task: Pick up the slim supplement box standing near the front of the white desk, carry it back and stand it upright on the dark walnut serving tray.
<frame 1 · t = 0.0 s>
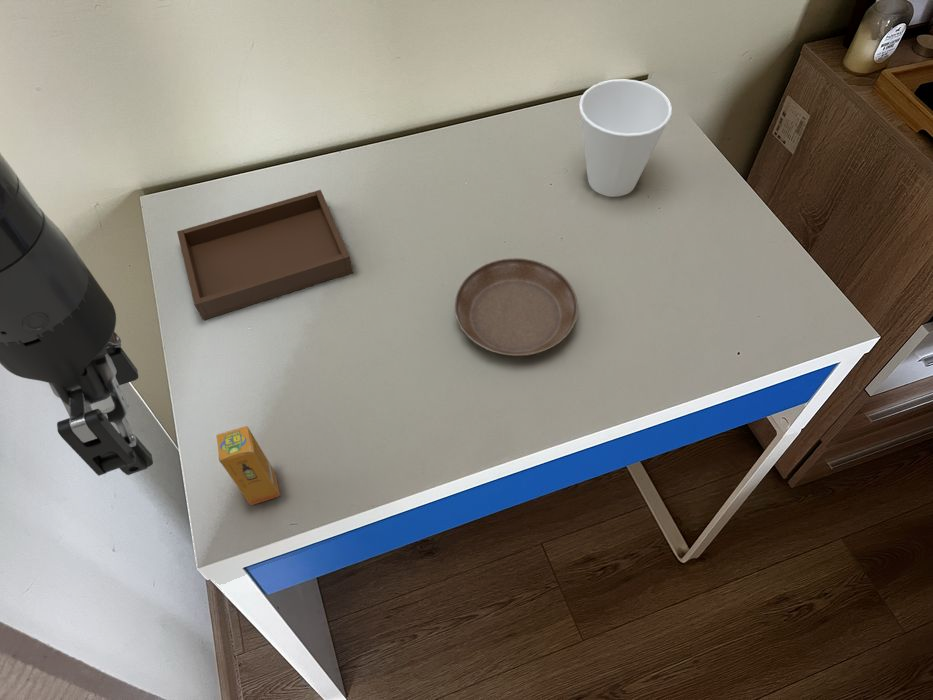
hand: (132, 421, 56), 20 cm above the table, tool pointing down, fingers open, 8 cm apart
saucer: (515, 318, 87), on the table
tray: (267, 259, 93), on the table
cup: (611, 181, 101), on the table
supplement box: (263, 488, 74), on the table
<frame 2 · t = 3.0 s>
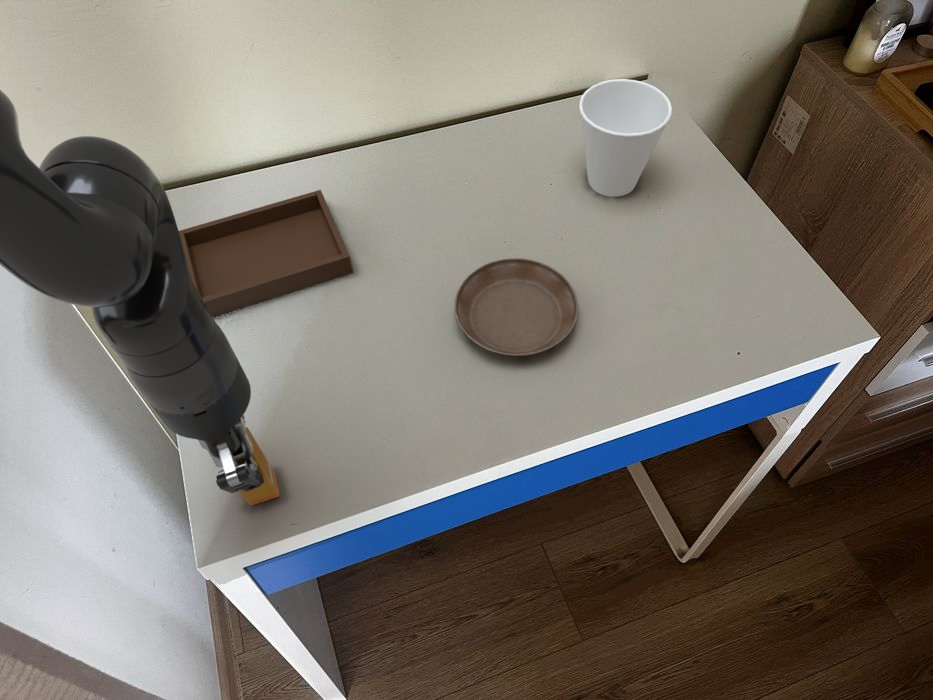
hand: (249, 466, 70), 5 cm above the table, tool pointing down, fingers closed on supplement box, 3 cm apart
supplement box: (263, 488, 74), on the table, touching gripper
everything else where it was.
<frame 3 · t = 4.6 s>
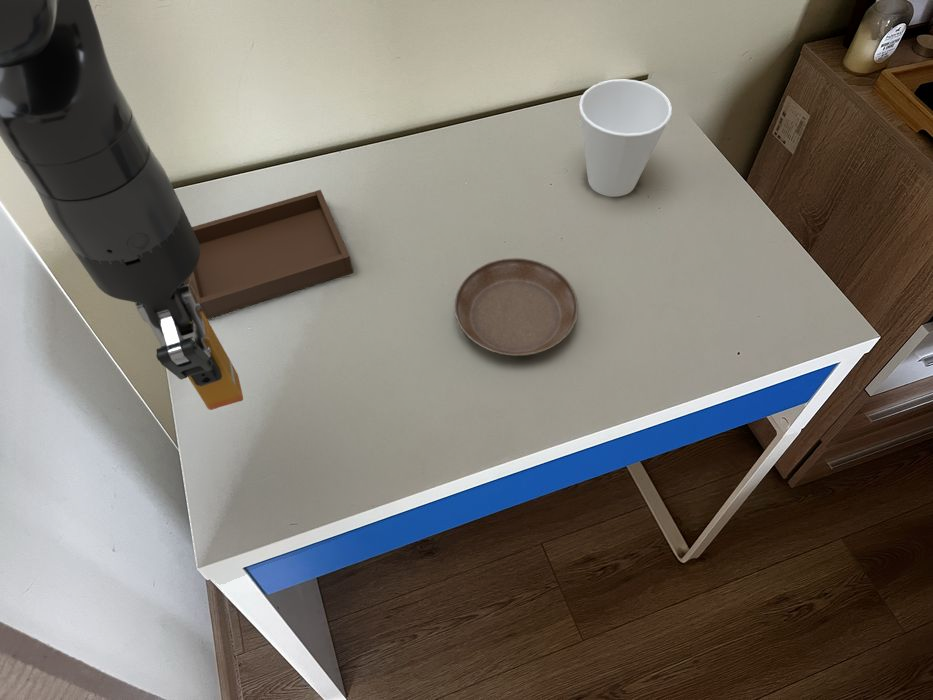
hand: (205, 361, 61), 19 cm above the table, tool pointing down, fingers closed on supplement box, 3 cm apart
supplement box: (224, 392, 65), point 13 cm above the table, touching gripper
everything else where it was.
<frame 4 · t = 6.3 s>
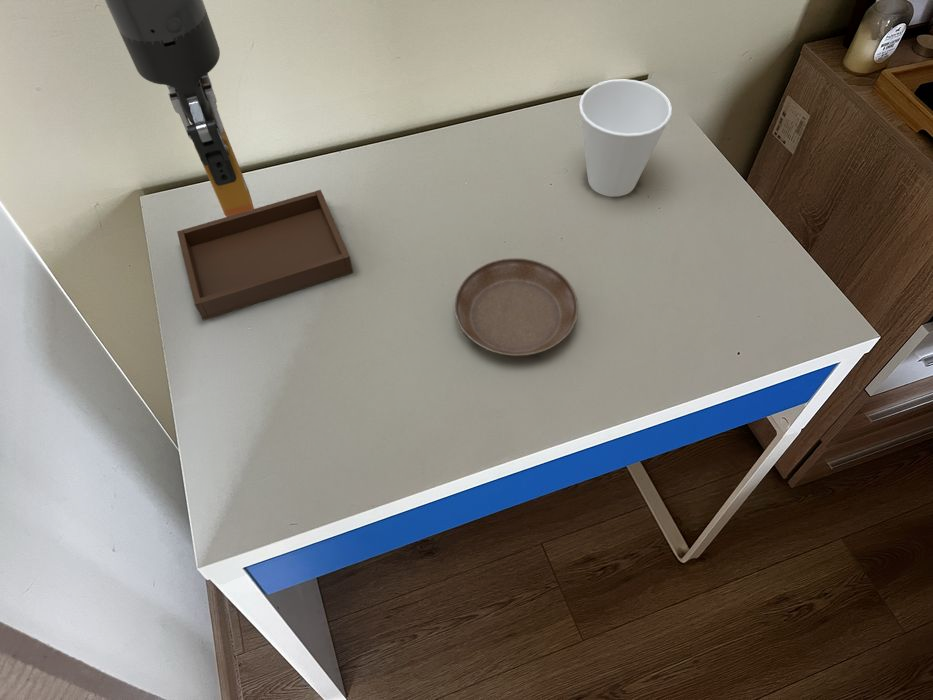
hand: (222, 169, 75), 19 cm above the table, tool pointing down, fingers closed on supplement box, 3 cm apart
supplement box: (238, 205, 79), point 14 cm above the table, touching gripper
everything else where it was.
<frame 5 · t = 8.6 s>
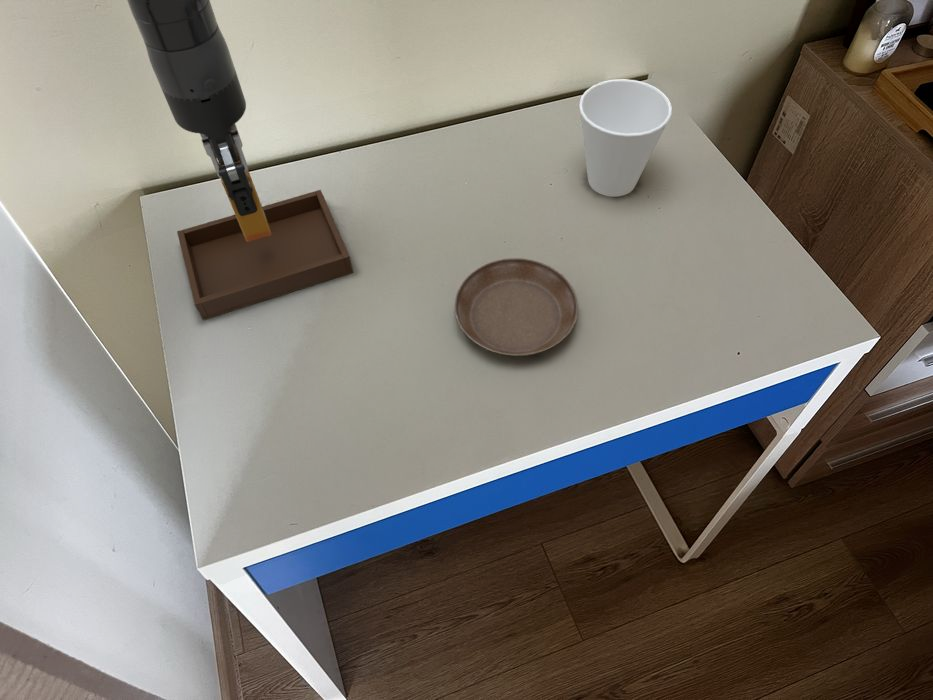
hand: (244, 201, 85), 10 cm above the table, tool pointing down, fingers closed on supplement box, 3 cm apart
supplement box: (257, 231, 89), point 5 cm above the table, touching gripper
everything else where it was.
when the fingers open (6 cm above the table, at t = 10.1 s): supplement box stays where it is, resting on tray.
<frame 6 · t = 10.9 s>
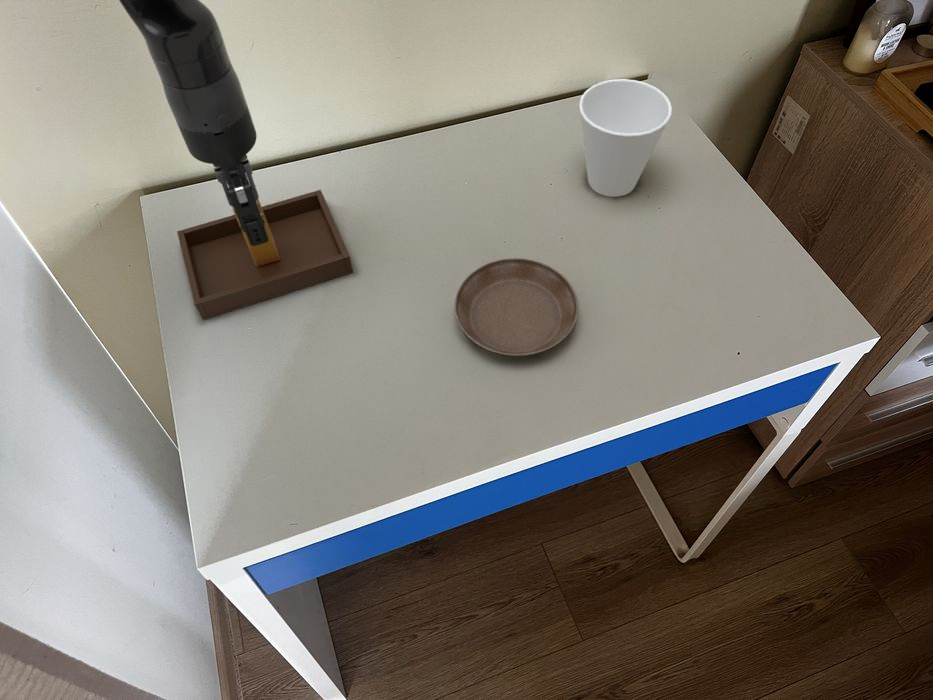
hand: (252, 219, 87), 7 cm above the table, tool pointing down, fingers open, 8 cm apart
supplement box: (266, 256, 93), resting on tray
everything else where it was.
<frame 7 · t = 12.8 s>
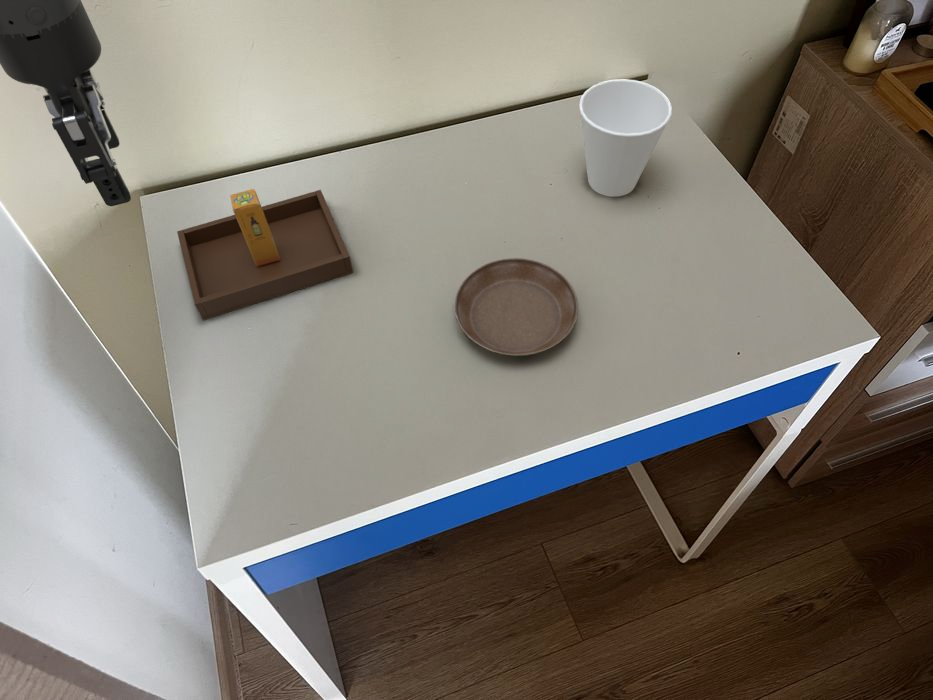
hand: (114, 173, 66), 25 cm above the table, tool pointing down, fingers open, 8 cm apart
nothing on the table moved.
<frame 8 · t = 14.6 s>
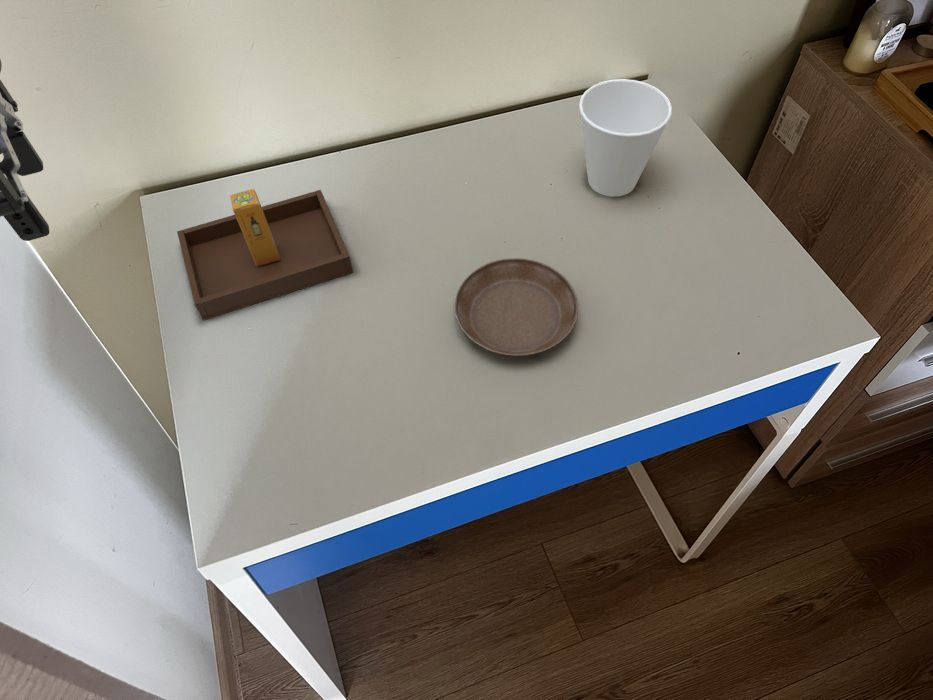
hand: (34, 202, 60), 28 cm above the table, tool pointing down, fingers open, 8 cm apart
nothing on the table moved.
at the end: supplement box inside the target area in the tray (0.2 cm from its centre), point 0.4 cm above the tray's base; supplement box tilted 0°; the gripper is holding nothing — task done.
